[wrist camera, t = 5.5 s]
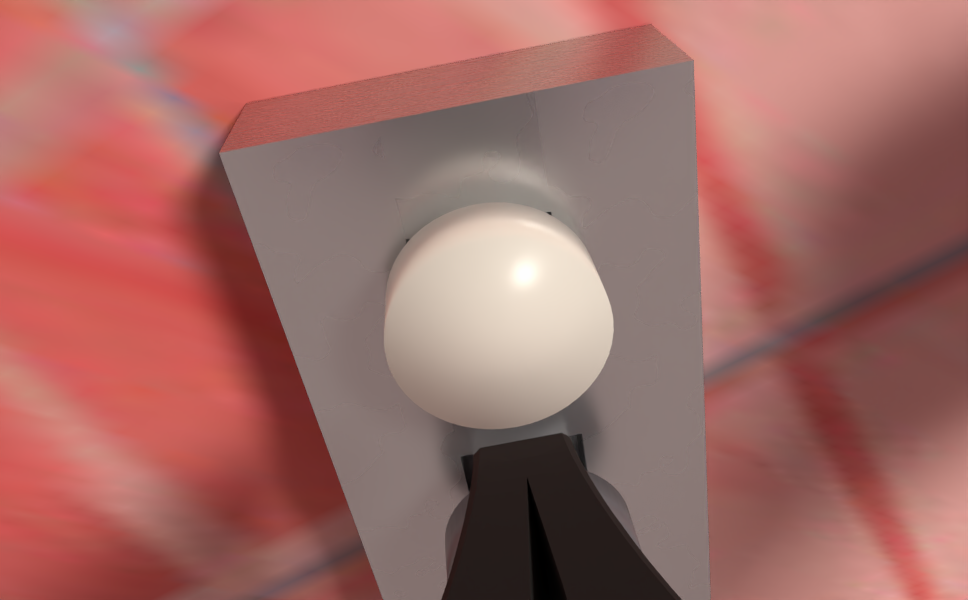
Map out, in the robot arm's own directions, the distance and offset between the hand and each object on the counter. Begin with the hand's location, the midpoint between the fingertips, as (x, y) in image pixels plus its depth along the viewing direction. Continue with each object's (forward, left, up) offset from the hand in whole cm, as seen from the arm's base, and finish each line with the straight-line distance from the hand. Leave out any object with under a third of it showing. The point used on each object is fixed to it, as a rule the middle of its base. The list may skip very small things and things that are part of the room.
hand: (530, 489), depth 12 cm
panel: (0, +6, -9) cm, 11 cm away
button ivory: (0, 0, -8) cm, 8 cm away
